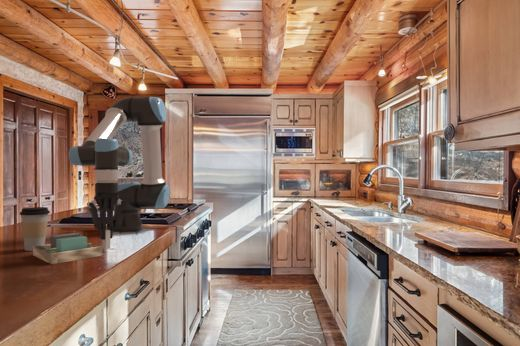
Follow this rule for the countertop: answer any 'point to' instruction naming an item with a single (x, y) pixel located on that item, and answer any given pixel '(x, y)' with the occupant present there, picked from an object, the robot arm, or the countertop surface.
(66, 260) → the slot rack
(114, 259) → the countertop surface
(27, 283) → the countertop surface
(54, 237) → the gray rectangular block
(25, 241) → the coffee cup
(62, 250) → the teal stub
